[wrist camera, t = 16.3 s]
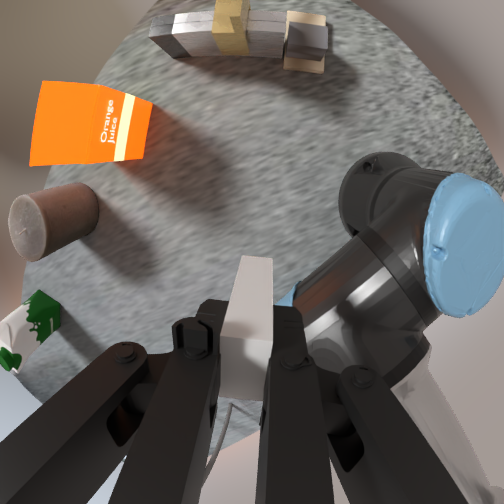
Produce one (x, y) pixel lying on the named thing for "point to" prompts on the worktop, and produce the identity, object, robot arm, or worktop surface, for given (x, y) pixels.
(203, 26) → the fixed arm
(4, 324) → the milk carton
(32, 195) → the pillar candle
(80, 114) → the orange juice
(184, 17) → the tongs arm
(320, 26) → the stand
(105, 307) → the worktop surface
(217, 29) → the lock collar
